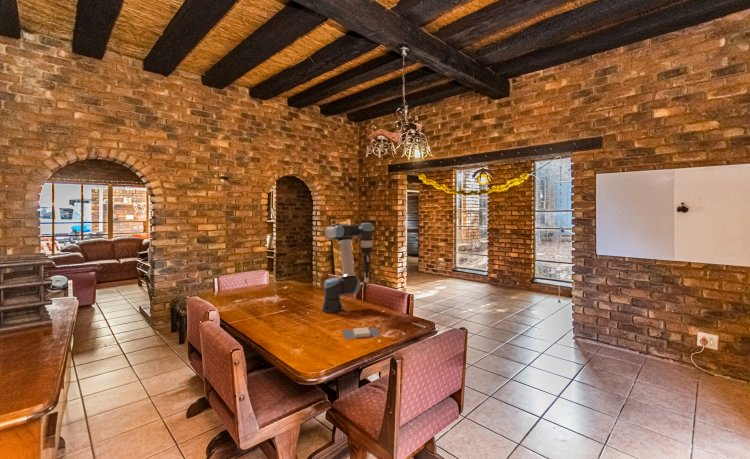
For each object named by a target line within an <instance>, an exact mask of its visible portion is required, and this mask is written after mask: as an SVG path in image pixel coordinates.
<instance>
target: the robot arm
mask: <svg viewBox="0 0 750 459" xmlns="http://www.w3.org/2000/svg"><path fill="white" fill-rule="evenodd" d="M373 229H374V228H373V223H371V222H362V223H360V224H346V223H345V224H330V225H326V226H325V227H324V229H323V232H322V233H323V236H324V237H325V239H328V240H332V241H333V240H334V241H337V243H338V244H339V248H340V257H341V258H340V260H341V268H342V275H341V278H340V277H338V276H337V277H331V278H327V279H326V280H324V283H323V284H324V286H323V287H324V288H323V290H324V296H323V297H324V301H323V303H322V308H321V311H322V312H324V313H329V314H333V313H335V314H336V313H340V312H342V311H343V309H344V308H343V304H342V300H341V296H345V295H347V296H348V295H354V294H355V295H356V294H358V293H359V291H360V288H361V280H360V278H358V277H357V276H358V275H357V274H355V268H354V260H353V258H354V257H353V251H352V242H353V240H354V239H355V237H360V241H359V242H360V253H361V254H363V274H364V276H363V277H364V278H363V279H364V280H363V281H364V283H369V282H370V281H369V280H370V279H369V277H370V262H371V255H370V254H372V253H373V242H374V241H373V236H374V235H373Z"/></svg>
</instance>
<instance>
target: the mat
mask: <svg viewBox="0 0 750 459" xmlns="http://www.w3.org/2000/svg"><path fill="white" fill-rule="evenodd" d="M367 328H368V329H369V331H370V336H369V337H357V338H355V336H354V333H353V329H354V328H351V329H342V330H341V333H342V336H343V339H344V340H351V339H353V340H354V339H363V338H376V337H377V338H379V337H382V335H381V333H380V332H379V330H378V328H377V327H367Z"/></svg>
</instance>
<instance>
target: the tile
mask: <svg viewBox="0 0 750 459" xmlns="http://www.w3.org/2000/svg"><path fill="white" fill-rule="evenodd" d="M368 328H369V327H359V328H358V327H356V328H352V329H353V333H354V336H355V338H354V339H358V338H357V337H367V338H370V337H369V336H370V331H369V329H368Z"/></svg>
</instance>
